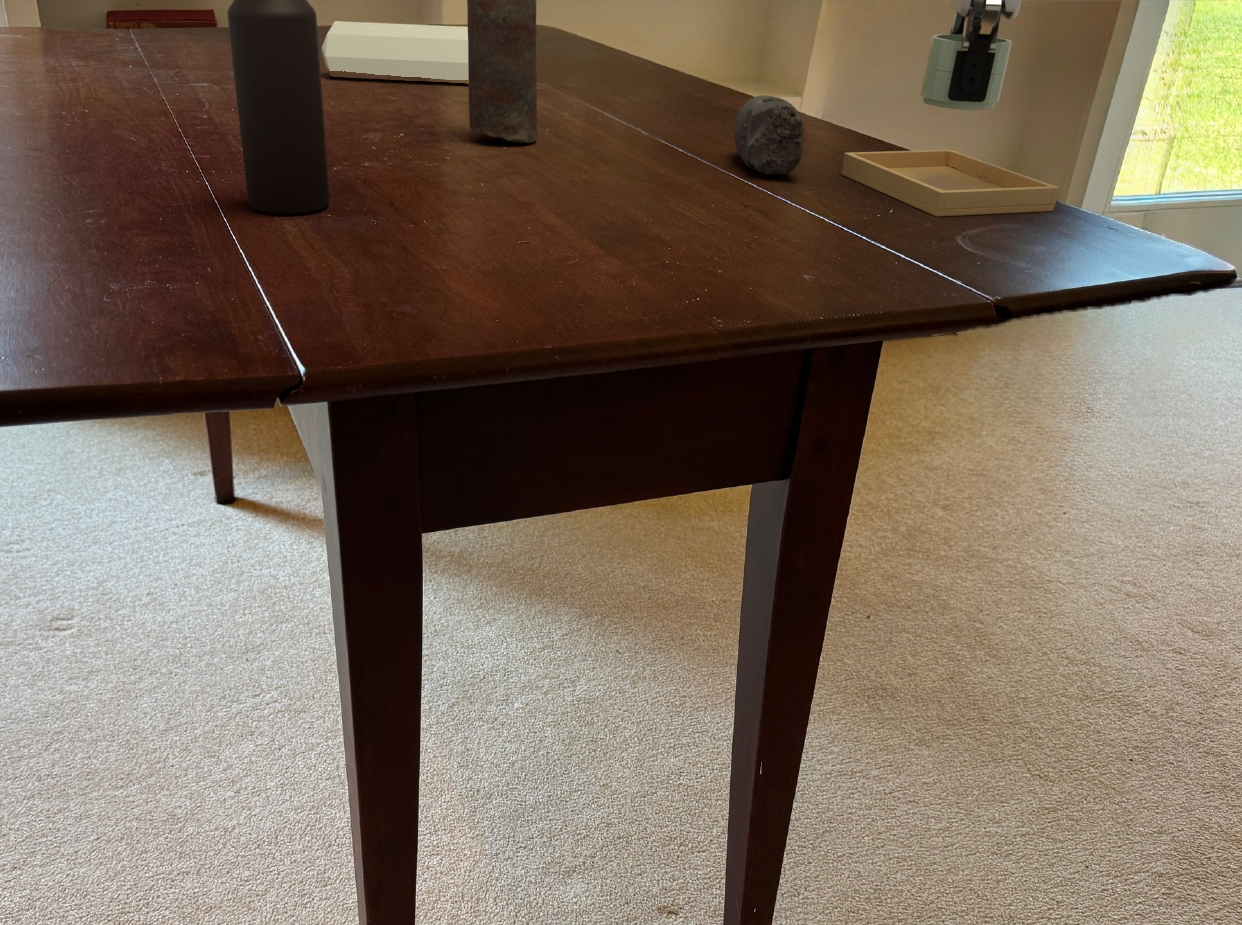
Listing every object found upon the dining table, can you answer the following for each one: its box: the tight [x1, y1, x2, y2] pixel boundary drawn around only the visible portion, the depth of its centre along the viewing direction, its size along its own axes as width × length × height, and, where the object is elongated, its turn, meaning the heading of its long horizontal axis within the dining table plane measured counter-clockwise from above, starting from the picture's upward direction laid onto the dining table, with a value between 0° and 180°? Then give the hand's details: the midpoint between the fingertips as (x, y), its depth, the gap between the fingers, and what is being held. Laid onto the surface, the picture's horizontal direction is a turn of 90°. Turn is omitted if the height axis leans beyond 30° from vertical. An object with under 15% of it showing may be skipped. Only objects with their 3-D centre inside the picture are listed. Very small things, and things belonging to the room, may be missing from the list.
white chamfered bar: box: [321, 20, 469, 80], centre depth 158 cm, size 7×7×24 cm
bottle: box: [227, 0, 331, 216], centre depth 89 cm, size 7×7×20 cm
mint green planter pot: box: [920, 33, 1013, 111], centre depth 101 cm, size 7×7×6 cm
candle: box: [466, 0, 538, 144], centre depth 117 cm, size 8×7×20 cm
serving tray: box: [841, 149, 1060, 218], centre depth 106 cm, size 12×17×2 cm
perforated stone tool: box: [733, 94, 806, 176], centre depth 112 cm, size 15×5×7 cm, turn 3°
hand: (960, 92), depth 102 cm, fingers closed on mint green planter pot, 7 cm apart
